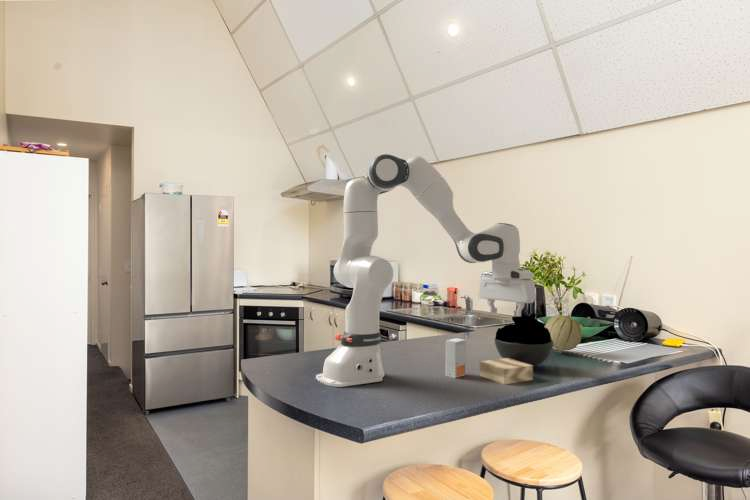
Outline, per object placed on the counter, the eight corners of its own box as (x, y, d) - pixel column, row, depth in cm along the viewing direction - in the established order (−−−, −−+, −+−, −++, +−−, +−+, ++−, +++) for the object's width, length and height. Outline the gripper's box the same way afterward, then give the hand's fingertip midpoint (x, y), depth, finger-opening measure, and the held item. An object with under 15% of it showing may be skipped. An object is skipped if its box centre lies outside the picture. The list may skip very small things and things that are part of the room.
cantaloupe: (536, 348, 205) (536, 313, 205) (562, 345, 211) (562, 311, 211) (563, 355, 192) (563, 317, 192) (589, 352, 198) (589, 315, 198)
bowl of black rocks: (513, 376, 160) (513, 319, 160) (484, 362, 180) (484, 312, 180) (565, 372, 166) (565, 317, 166) (531, 359, 185) (531, 310, 185)
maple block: (504, 385, 151) (504, 369, 151) (479, 376, 162) (479, 361, 162) (532, 380, 156) (532, 365, 156) (507, 372, 167) (507, 357, 167)
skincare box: (455, 378, 158) (455, 342, 158) (444, 376, 161) (444, 340, 161) (466, 375, 162) (466, 339, 162) (455, 373, 165) (455, 337, 165)
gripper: (474, 271, 165) (474, 312, 165) (526, 274, 149) (526, 318, 149) (486, 271, 169) (486, 310, 169) (538, 273, 153) (537, 317, 153)
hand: (505, 314), depth 159 cm, fingers open, 8 cm apart
